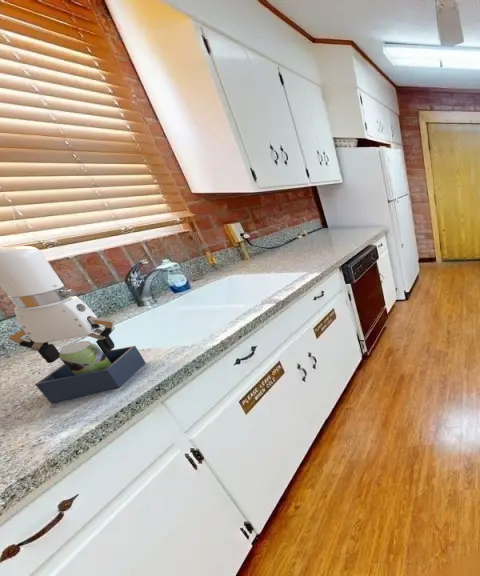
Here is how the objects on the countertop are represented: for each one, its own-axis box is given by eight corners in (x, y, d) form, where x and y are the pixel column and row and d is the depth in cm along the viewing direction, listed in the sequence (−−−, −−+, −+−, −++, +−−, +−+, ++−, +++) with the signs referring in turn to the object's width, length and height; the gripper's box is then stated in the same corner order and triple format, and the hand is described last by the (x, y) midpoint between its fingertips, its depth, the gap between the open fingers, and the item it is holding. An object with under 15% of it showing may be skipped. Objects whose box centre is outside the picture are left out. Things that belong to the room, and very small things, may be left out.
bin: (51, 404, 75) (34, 384, 72) (87, 375, 85) (73, 356, 82) (120, 389, 80) (107, 370, 77) (146, 363, 90) (135, 345, 87)
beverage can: (116, 370, 86) (92, 335, 81) (122, 378, 83) (96, 342, 78) (81, 383, 81) (53, 347, 76) (85, 392, 78) (55, 355, 73)
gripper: (104, 286, 78) (137, 339, 85) (-1, 298, 71) (44, 355, 78) (83, 297, 72) (120, 354, 79) (-34, 311, 65) (18, 372, 72)
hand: (83, 354), depth 78 cm, fingers open, 9 cm apart
